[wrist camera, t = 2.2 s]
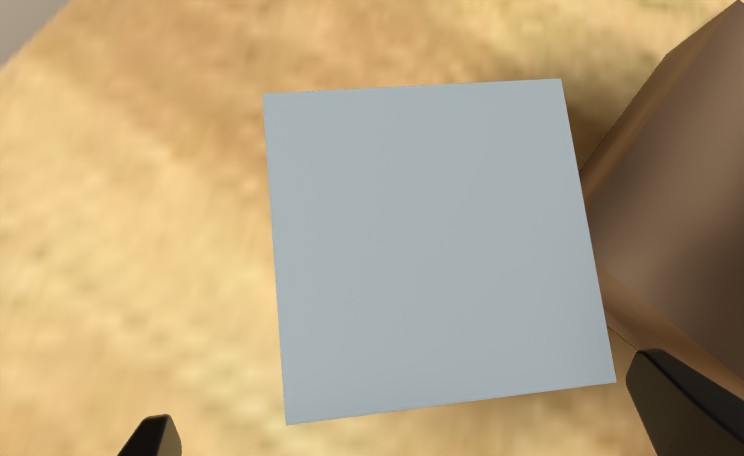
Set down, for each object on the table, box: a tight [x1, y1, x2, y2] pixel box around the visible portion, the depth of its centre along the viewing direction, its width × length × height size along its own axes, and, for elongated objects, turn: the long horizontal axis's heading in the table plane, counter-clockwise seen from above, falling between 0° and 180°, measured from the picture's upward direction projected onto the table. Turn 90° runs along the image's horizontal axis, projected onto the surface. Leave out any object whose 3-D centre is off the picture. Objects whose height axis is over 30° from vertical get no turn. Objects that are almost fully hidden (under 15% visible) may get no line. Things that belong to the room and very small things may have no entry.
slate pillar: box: [262, 78, 617, 425], centre depth 14 cm, size 5×5×12 cm
